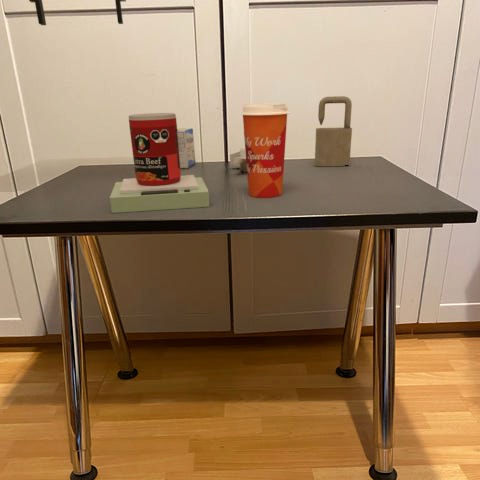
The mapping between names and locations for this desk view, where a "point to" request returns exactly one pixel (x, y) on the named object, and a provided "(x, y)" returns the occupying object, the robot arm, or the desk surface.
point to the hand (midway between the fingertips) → (82, 24)
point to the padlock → (333, 137)
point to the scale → (159, 195)
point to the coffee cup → (265, 147)
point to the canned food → (155, 148)
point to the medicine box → (186, 147)
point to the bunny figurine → (239, 159)
